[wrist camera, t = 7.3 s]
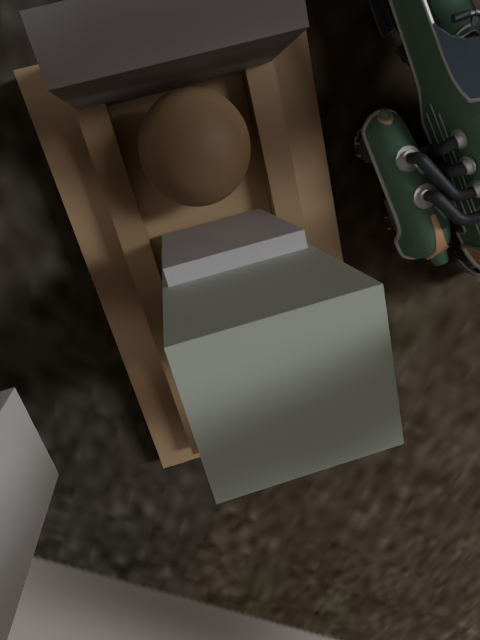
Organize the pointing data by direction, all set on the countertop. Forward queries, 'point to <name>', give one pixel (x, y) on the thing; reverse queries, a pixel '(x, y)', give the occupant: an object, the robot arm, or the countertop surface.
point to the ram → (275, 352)
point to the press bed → (123, 158)
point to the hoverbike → (431, 132)
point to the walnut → (194, 146)
